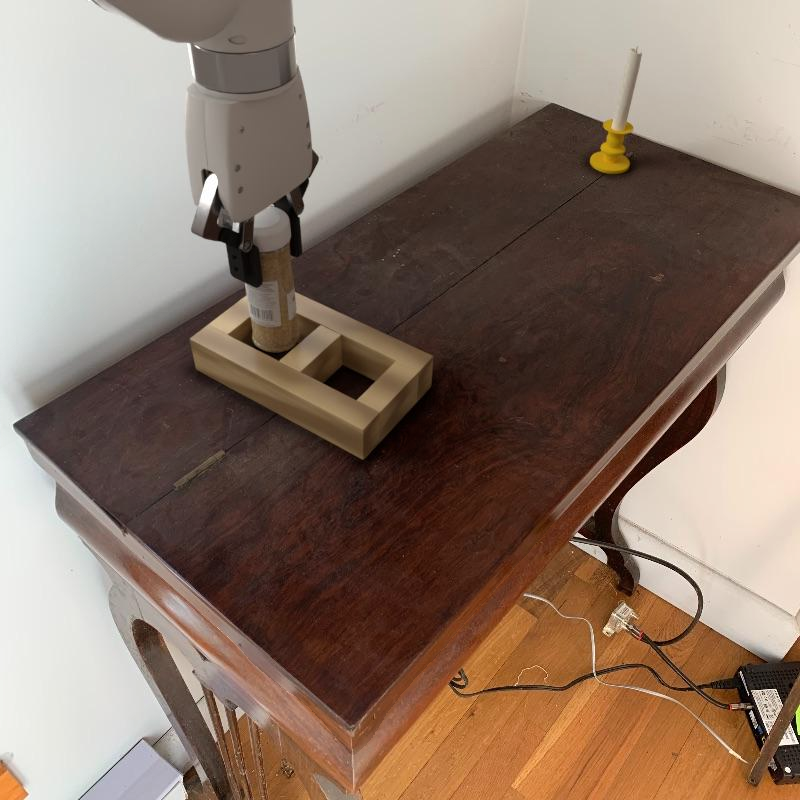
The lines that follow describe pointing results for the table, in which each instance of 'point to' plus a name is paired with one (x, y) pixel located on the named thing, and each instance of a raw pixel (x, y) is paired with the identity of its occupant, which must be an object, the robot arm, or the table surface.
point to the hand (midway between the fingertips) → (267, 263)
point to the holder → (318, 372)
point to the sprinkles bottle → (273, 284)
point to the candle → (619, 123)
